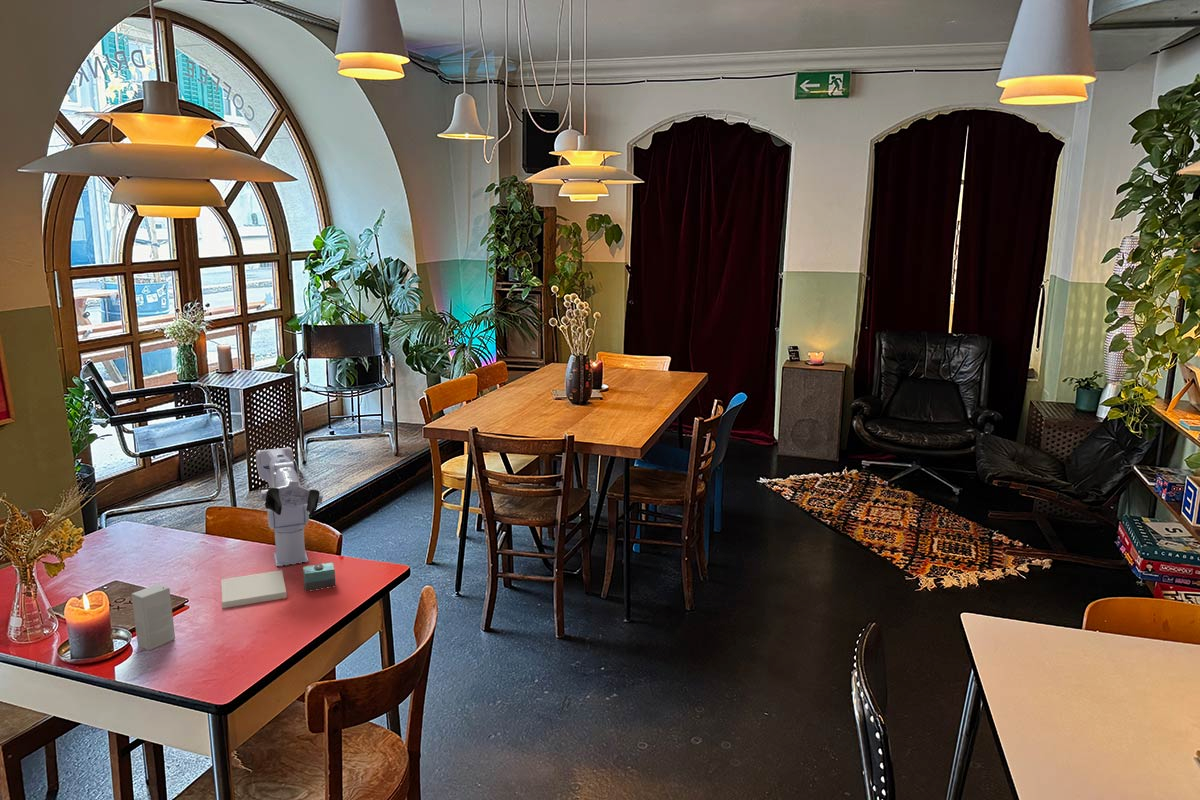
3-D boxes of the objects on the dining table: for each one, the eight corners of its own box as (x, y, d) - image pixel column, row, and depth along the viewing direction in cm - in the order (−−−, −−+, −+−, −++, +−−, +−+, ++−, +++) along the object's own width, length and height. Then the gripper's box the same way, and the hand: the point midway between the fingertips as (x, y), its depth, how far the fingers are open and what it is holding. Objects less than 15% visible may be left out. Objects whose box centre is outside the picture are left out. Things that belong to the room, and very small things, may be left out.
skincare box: (164, 634, 177) (158, 582, 174) (175, 639, 175) (170, 587, 172) (136, 646, 172) (130, 593, 169) (147, 651, 169) (142, 598, 167)
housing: (303, 584, 202) (302, 564, 201) (333, 580, 205) (332, 560, 204) (305, 592, 198) (304, 571, 197) (335, 587, 201) (334, 566, 200)
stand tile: (221, 585, 202) (221, 579, 201) (282, 575, 207) (281, 570, 207) (222, 608, 189) (222, 602, 189) (286, 597, 195) (286, 591, 195)
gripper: (261, 471, 203) (267, 495, 191) (321, 475, 210) (330, 498, 199) (256, 497, 204) (262, 522, 193) (316, 500, 212) (325, 524, 200)
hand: (296, 511), depth 196 cm, fingers open, 7 cm apart
